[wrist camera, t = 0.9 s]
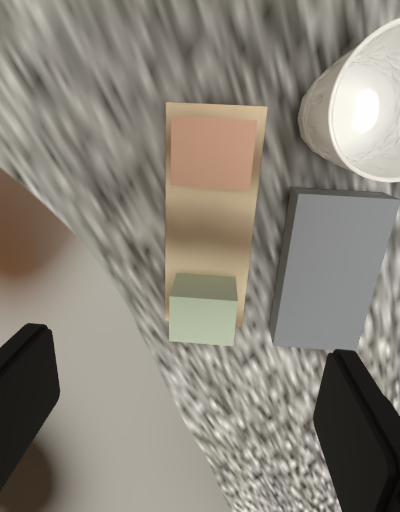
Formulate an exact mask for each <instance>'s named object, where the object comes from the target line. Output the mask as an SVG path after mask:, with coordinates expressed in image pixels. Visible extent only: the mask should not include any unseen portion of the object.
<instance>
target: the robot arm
mask: <svg viewBox="0 0 400 512" xmlns="http://www.w3.org/2000/svg"><path fill="white" fill-rule="evenodd" d="M59 395H60V387H59V379H58V372H57V365H56V357H55V350H54V342H53V335H52V331H51V330H50V329H48V327H47V326H46V325H44V324H33V323H28V324H26V325H24V326H23V327H22V328H21V329H20V330H19V331H18V332H17V333H16V334H15V335H14V336H12V337H11V338H10V339H9V340H8V341H7V342H6V343H5V344H4V345H3V346H2V347H1V348H0V491H1V489H2V488H3V486H4V484H5V483H6V481H7V480H8V478H9V476H10V475H11V473H12V472H13V471H14V469H15V467H16V466H17V464H18V463H19V461H20V459H21V458H22V456H23V455H24V453H25V452H26V450H27V449H28V447H29V445H30V444H31V442H32V441H33V439H34V438H35V436H36V434H37V433H38V431H39V430H40V428H41V427H42V425H43V423H44V422H45V420H46V418H47V417H48V415H49V414H50V412H51V411H52V409H53V408H54V406H55V405H56V403H57V401H58V399H59ZM313 421H314V427H315V430H316V433H317V436H318V439H319V442H320V445H321V448H322V451H323V454H324V457H325V460H326V464H327V467H328V470H329V473H330V476H331V479H332V482H333V485H334V488H335V491H336V494H337V497H338V500H339V503H340V506H341V510H342V512H400V416H399V415H398V413H397V411H396V410H395V408H394V407H393V405H392V404H391V402H390V401H389V400H388V399H387V397H385V396H384V395H383V394H382V392H381V390H380V389H379V387H378V386H377V384H376V383H375V381H374V380H373V378H372V376H371V375H370V373H369V372H368V370H367V369H366V367H365V365H364V364H363V362H362V361H361V359H360V358H359V356H358V355H357V353H356V352H355V351H353V350H344V349H335V350H334V351H333V353H329V354H328V356H327V360H326V364H325V368H324V373H323V377H322V381H321V385H320V389H319V394H318V398H317V402H316V406H315V411H314V416H313Z"/></svg>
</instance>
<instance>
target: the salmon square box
mask: <svg viewBox="0 0 400 512" xmlns="http://www.w3.org/2000/svg"><path fill="white" fill-rule="evenodd" d="M256 128H257V120H245V119H225V118H206V117H186V116H171V182H170V185H178V186H195V187H211V188H227V189H243V190H250V183H251V174H252V164H253V155H254V146H255V137H256Z"/></svg>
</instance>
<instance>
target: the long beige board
mask: <svg viewBox="0 0 400 512" xmlns="http://www.w3.org/2000/svg"><path fill="white" fill-rule="evenodd" d="M171 116H186V117H206V118H225V119H245V120H257V128H256V137H255V146H254V155H253V164H252V174H251V183H250V190H243V189H227V188H211V187H195V186H178V185H170V182H171ZM266 116H267V107H263V106H241V105H220V104H198V103H177V102H166V219H165V321H169V296H170V293H171V290H172V287H173V284H174V280H175V277H176V274H177V273H185V274H199V275H213V276H227V277H236V286H237V297H238V305H237V315H236V324H235V327H242V321H243V313H244V304H245V295H246V287H247V278H248V270H249V261H250V253H251V244H252V236H253V227H254V218H255V210H256V201H257V193H258V184H259V176H260V167H261V159H262V150H263V141H264V133H265V124H266Z"/></svg>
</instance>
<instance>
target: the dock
mask: <svg viewBox="0 0 400 512" xmlns="http://www.w3.org/2000/svg"><path fill="white" fill-rule="evenodd" d="M399 204H400V199H398V198H395V197H393V196H390V195H388V194H385V193H381V192H364V191H346V190H329V189H311V188H294V187H291V190H290V197H289V203H288V209H287V216H286V222H285V228H284V235H283V241H282V248H281V254H280V260H279V267H278V273H277V280H276V286H275V292H274V299H273V305H272V312H271V318H270V324H269V330H270V334H271V338H272V342H273V346H286V347H298V348H311V349H323V350H335V349H344V350H353V351H355V352H356V350H357V346H358V343H359V339H360V336H361V333H362V329H363V326H364V322H365V319H366V316H367V312H368V309H369V305H370V302H371V299H372V295H373V292H374V288H375V285H376V282H377V278H378V275H379V271H380V268H381V265H382V261H383V258H384V254H385V251H386V248H387V244H388V241H389V237H390V234H391V231H392V227H393V224H394V221H395V217H396V214H397V210H398V207H399Z"/></svg>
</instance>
